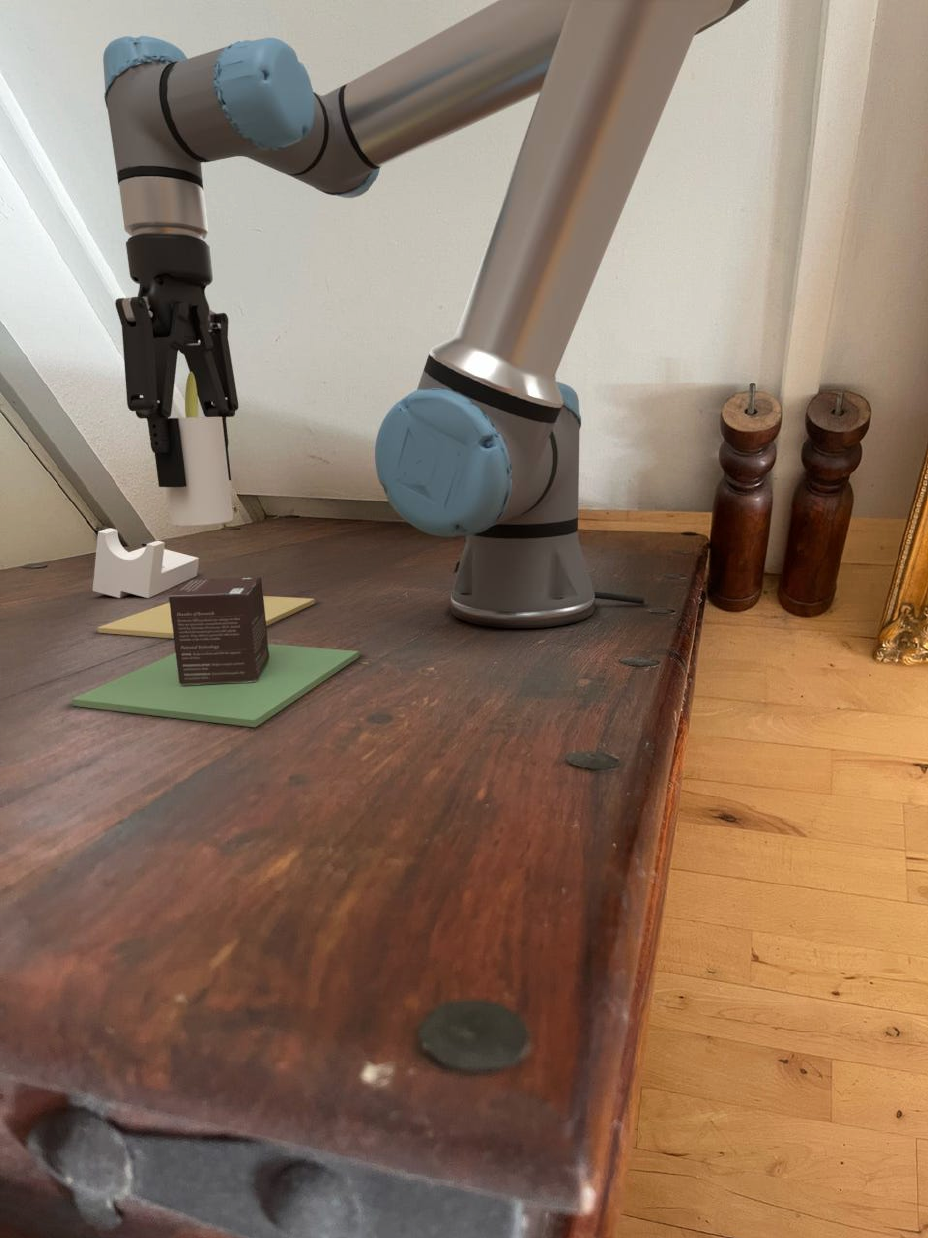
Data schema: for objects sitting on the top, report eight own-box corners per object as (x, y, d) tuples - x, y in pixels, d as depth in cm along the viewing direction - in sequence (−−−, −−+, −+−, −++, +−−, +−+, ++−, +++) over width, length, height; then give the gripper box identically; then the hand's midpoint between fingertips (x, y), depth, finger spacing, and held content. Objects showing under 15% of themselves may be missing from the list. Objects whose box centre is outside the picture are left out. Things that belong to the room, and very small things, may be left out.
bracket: (147, 605, 91) (154, 545, 89) (92, 590, 91) (98, 531, 89) (195, 582, 104) (202, 529, 101) (147, 569, 104) (153, 517, 102)
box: (199, 662, 63) (188, 578, 62) (271, 659, 64) (262, 575, 62) (178, 687, 58) (165, 595, 56) (257, 683, 58) (247, 591, 56)
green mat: (359, 657, 66) (358, 650, 65) (255, 728, 51) (254, 720, 51) (206, 645, 71) (206, 639, 70) (72, 706, 56) (71, 698, 56)
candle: (155, 524, 77) (134, 371, 73) (206, 516, 82) (189, 373, 78) (195, 527, 74) (176, 367, 70) (246, 518, 79) (230, 370, 75)
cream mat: (315, 603, 86) (314, 598, 85) (231, 643, 71) (230, 637, 71) (198, 597, 91) (198, 592, 90) (98, 632, 76) (97, 627, 76)
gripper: (200, 261, 81) (223, 475, 87) (52, 219, 63) (95, 492, 69) (259, 254, 79) (279, 475, 85) (123, 209, 61) (161, 493, 67)
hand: (196, 483), depth 77 cm, fingers closed on candle, 7 cm apart
